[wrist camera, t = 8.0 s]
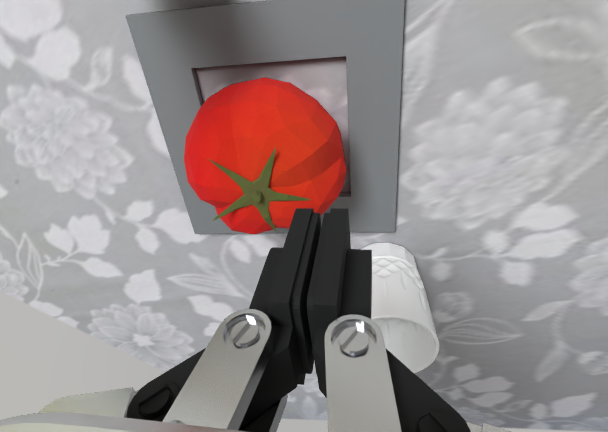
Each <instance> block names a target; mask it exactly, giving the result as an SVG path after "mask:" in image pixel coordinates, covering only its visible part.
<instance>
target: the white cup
mask: <svg viewBox="0 0 608 432" xmlns="http://www.w3.org/2000/svg"><path fill="white" fill-rule="evenodd" d="M360 250H372V307H371V320H373V321H374V322H375V323H376V324H377V325H378V326H379V327H380V329H381V331H382V334H383V337H384V342H385V348H386V349H387V350H388V351H390V352H391V353H392V354H393V355H394V356H395V357H396V358H397V359H399V360H400V361H401V362H402V363H403V364H404V365H405V366H406V367H407V368H409V369H410V370H411V371H412V372H413V373H417V372H419V371H421V370H423V369H425V368H427V367H428V366H429V365H430V364H432V363H433V362H434V360H435V359H436V357H437V355H438V353H439V340H438V337H437V333H436V329H435V326H434V322H433V318H432V314H431V311H430V307H429V303H428V299H427V296H426V292H425V289H424V286H423V282H422V279H421V277H420V276H419V272H418V268H417V265H416V262H415V259H414V256H413V255H412V254H411V253H410V252H409V251H407V250H406V249H405V248H404V247H402V246H399V245H396V244H392V243H373V244H371V245H369V246H367V247H364V248H362V249H360Z"/></svg>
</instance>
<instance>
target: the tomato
mask: <svg viewBox="0 0 608 432" xmlns="http://www.w3.org/2000/svg"><path fill="white" fill-rule="evenodd" d="M184 163H185V169H186V174H187V180H188V183H189V184H190V186H191V187H192V189H193V190H194V191H195V193H196V194H197V196H198V197H199V199H200V200H202V201H204V202H207V203H209V204H211V205H213V206H215V209H216V212H217V215H218V216H217V217H215V219H214V220H216V219H219V218H220V219H221V220H222V221H223V222H224V223H225V224H226V225H227V226H228V227H229V228H230V229H231V230H232V231H237V232H243V233H249V234H258V233H262V232H266V231H270V230H273V229H274V230H275V232H276V228H290V225H291V222H292V219H293V215H294V212H295V210H296V208H313V209H314V213H320V216H321V215H322V214H323V213H324V212H325V211H326V210H327V209H328V208H329V207H330V206H331V205H332V203H333V202H334V201H335V200H336V199H337V197H338V196H339V194H340V192H341V190H342V189H343V186H344V181H345V176H346V171H347V168H346V163H345V158H344V151H343V145H342V138H341V133H340V130H339V128H338V125H337V123H336V121H335V120H334V119H333V118H332V117H331V116H330V115H329V114H328V112H327V111H326V110H325V109H324V108H323V107H322V106H321V105H320V103H319V102H318V101H317V100H316V99H314V98H313V97H311V96H310V95H308V94H306V93H305V92H303V91H302V90H300V89H299V88H297V87H296V86H294V85H293V84H291V83H288V82H283V81H278V80H274V79H269V78H260V79H255V80H250V81H245V82H240V83H235V84H231V85H229V86H227V87H225V88H223V89H222V90H220V91H219V92H217V93H215V94H214V95H212V96H210V97H209V98H208V99H207V100H206V101H205V102H204V104H203V105H202V106H201V108H200V109H199V110H198V112H197V114H196V116H195V118H194V121H193V123H192V125H191V127H190V129H189V131H188V133H187V135H186V139H185V152H184ZM214 220H213V221H214ZM276 233H277V232H276Z"/></svg>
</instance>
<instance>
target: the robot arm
mask: <svg viewBox="0 0 608 432" xmlns="http://www.w3.org/2000/svg"><path fill="white" fill-rule="evenodd" d="M371 307H372V250H359V249H351V247H350V226H349V210H348V208H331V210H330V213H324V216H323V221H322V226H321V217H320V213H314V209H313V208H296V210H295V212H294V215H293V219H292V222H291V225H290V228H289V231H288V235H287V238H286V241H285V244H284V247H283V248H271V249H270V251H269V254H268V256H267V259H266V262H265V265H264V268H263V271H262V273H261V276H260V279H259V282H258V285H257V288H256V290H255V293H254V296H253V299H252V302H251V305H250V307H249V309H244V310H239V311H237V312H235V313H232V314H231V315H229V316H228V317H227V318H225V319H224V321H223V322H222V323H221V324H220V326H219V327H218V329H217V331H216V332H215V334H214V336H213V337H212V339H211V341H210V342H209V344H208V346H207V347H206V348H205V349H203V350H202V351H200V352H198V353H197V354H195V355H193V356H192V357H190V358H189V359H187V360H185V361H184V362H182V363H180V364H179V365H177V366H175V367H174V368H172V369H170V370H169V371H167V372H165V373H164V374H162V375H161V376H159V377H157V378H156V379H154V380H152V381H151V382H149V383H147V384H146V385H145V386H144V387H142V388H141V389H140V390H138V391H135V390H134V389H133V388H125V389H117V390H110V391H103V392H96V393H89V394H81V395H75V396H67V397H63V398H60V399H57V400H55V401H53V402H52V403H50V404H48V405H46V406H45V407H44V408H43V409H42V410H41V411H40V412H39V413H34V414H27V415H20V416H16V417H11V418H7V419H3V420H0V432H276V431H277V428H278V425H279V423H280V420H281V417H282V414H283V412H284V409H285V406H286V403H287V398H288V395H287V394H288V393H289V392H291V391H292V390H294V389H295V388H296V387H297V384H301V385H304V380H305V374H306V373H308V374H311V373H312V370H313V364H314V361H315V367H316V373H317V377H318V383H319V389H320V391H321V392H322V393H323V394H324V395H325V397H326V398H327V415H328V432H510V431H507V430H504V429H501V428H498V427H495V426H492V425H488V424H485V423H483V425H482V427H481V426H478V425H475V424H472V423H469V422H466V421H465V420H464V419H463V418H462V417H461V416H460V414H459V413H458V412H457V411H455V410H454V409H453V408H452V407H451V406H450V405H449V404H448V403H447V402H445V401H444V400H443V399H442V398H441V397H440V396H439V395H438V394H436V393H435V392H434V391H433V390H432V389H431V388H430V387H429V386H428V385H426V384H425V383H424V382H423V381H422V380H421V379H420V378H419V377H418V376H416V375H415V374H414V373H413V372H412V371H411V370H410V369H409V368H407V367H406V366H405V365H404V364H403V363H402V362H401V361H400V360H399V359H397V358H396V357H395V356H394V355H393V354H392V353H391V352H390V351H388V350H387V349H386V348H385V342H384V337H383V334H382V331H381V329H380V327H379V326H378V325H377V324H376V323H375V322H374V321H373V320H371Z"/></svg>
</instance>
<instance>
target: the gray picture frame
mask: <svg viewBox="0 0 608 432" xmlns="http://www.w3.org/2000/svg"><path fill="white" fill-rule="evenodd" d="M404 3H405V0H266V1H257V2H247V3H237V4H228V5H218V6H208V7H199V8H189V9H179V10H170V11H160V12H151V13H141V14H131V15H126V19H127V22H128V25H129V28H130V32H131V35H132V38H133V41H134V44H135V47H136V50H137V54H138V57H139V60H140V63H141V66H142V69H143V72H144V76H145V79H146V82H147V85H148V88H149V91H150V94H151V97H152V101H153V104H154V107H155V110H156V113H157V116H158V119H159V123H160V126H161V129H162V132H163V135H164V138H165V141H166V145H167V148H168V151H169V154H170V157H171V160H172V163H173V167H174V170H175V173H176V176H177V179H178V182H179V185H180V189H181V192H182V195H183V198H184V201H185V204H186V207H187V210H188V214H189V217H190V220H191V223H192V226H193V229H194V232H195V234H227V233H243V232H237V231H232V230H231V229H230V228H229V227H228V226H227V225H226V224H225V223H224V222H223V221H222V220H221V219H220V218H219V219H216V220H214V219H215V217H217V216H218V215H217V212H216V209H215V206H213V205H211V204H209V203H207V202H204V201H202V200H200V199H199V197H198V196H197V194H196V193H195V191H194V190H193V189H192V187H191V186H190V184H189V183H188V180H187V174H186V169H185V163H184V152H185V139H186V135H187V133H188V131H189V129H190V127H191V125H192V123H193V121H194V118H195V116H196V114H197V112H198V110H199V109H200V108H201V106H202V105H203V102H202V98H201V94H200V90H199V86H198V82H197V78H196V74H195V70H194V68H202V67H214V66H227V65H240V64H253V63H265V62H278V61H291V60H303V59H316V58H329V57H342V56H346V65H347V94H348V123H349V152H350V181H351V193H343V194H339V196H338V197H337V199H336V200H335V201H334V202H333V203H332V205H331V206H330V207H329V208H328V209H327V210H326V211H325V212H324V213H330V210H331V208H348V210H349V226H350V232H395V218H396V194H397V170H398V146H399V122H400V98H401V75H402V51H403V27H404ZM324 213H323V214H322V215H321V216H320V217H321V226H322V221H323V216H324ZM213 220H214V221H213ZM288 231H289V228H276V232H277V233H288ZM276 232H275V230H274V229H273V230H270V231H266V232H262V233H276Z"/></svg>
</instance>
